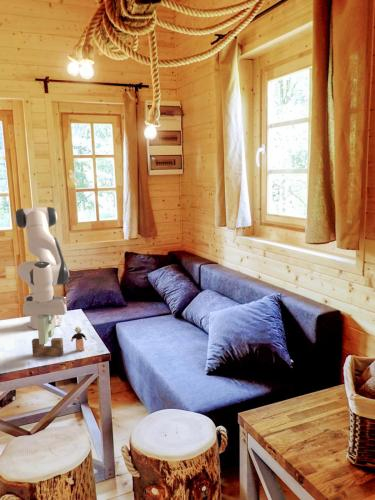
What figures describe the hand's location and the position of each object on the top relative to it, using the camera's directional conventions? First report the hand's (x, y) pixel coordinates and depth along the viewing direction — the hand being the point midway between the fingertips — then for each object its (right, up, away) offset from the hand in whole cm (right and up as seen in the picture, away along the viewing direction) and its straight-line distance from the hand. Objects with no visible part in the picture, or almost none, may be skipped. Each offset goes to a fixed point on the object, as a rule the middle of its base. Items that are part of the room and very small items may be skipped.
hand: (46, 323), depth 207 cm
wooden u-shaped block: (0, -16, +3) cm, 16 cm away
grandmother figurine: (+14, -15, +7) cm, 22 cm away
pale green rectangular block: (0, -8, +1) cm, 8 cm away
